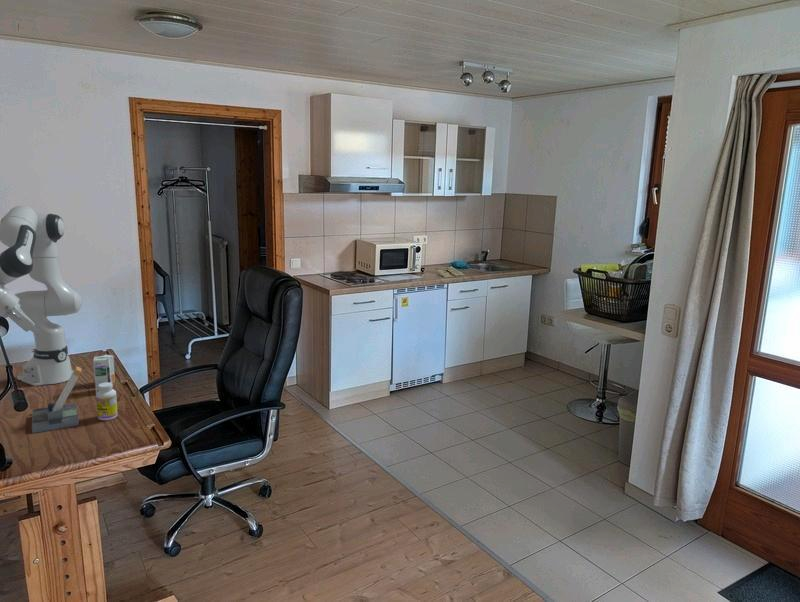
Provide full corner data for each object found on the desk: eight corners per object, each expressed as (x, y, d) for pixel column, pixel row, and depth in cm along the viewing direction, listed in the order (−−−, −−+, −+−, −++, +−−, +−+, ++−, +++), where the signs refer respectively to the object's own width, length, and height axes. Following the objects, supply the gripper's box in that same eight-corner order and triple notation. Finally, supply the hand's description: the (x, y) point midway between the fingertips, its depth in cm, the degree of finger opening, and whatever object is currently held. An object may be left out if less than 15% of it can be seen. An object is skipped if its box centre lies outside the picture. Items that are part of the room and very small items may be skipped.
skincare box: (106, 386, 241) (103, 359, 239) (97, 385, 242) (94, 358, 240) (115, 381, 247) (113, 355, 245) (107, 380, 248) (105, 354, 245)
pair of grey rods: (33, 415, 211) (32, 410, 211) (33, 411, 214) (32, 407, 213) (76, 408, 218) (76, 404, 218) (76, 405, 221) (75, 401, 221)
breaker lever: (51, 417, 203) (76, 370, 204) (51, 410, 209) (75, 365, 210) (56, 418, 204) (82, 372, 205) (56, 411, 210) (80, 366, 211)
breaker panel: (32, 433, 197) (30, 419, 196) (33, 416, 210) (31, 403, 209) (79, 425, 204) (77, 411, 203) (76, 409, 217) (75, 396, 216)
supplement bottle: (93, 419, 209) (90, 385, 207) (108, 412, 215) (106, 380, 213) (107, 422, 207) (104, 388, 204) (122, 415, 213) (119, 383, 210)
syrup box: (95, 394, 232) (92, 360, 229) (96, 389, 238) (94, 356, 235) (111, 392, 235) (108, 358, 232) (112, 387, 240) (109, 354, 237)
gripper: (17, 303, 187) (50, 331, 195) (7, 293, 202) (38, 319, 210) (0, 317, 185) (35, 345, 193) (-9, 305, 200) (23, 332, 208)
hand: (36, 331), depth 202 cm, fingers closed
